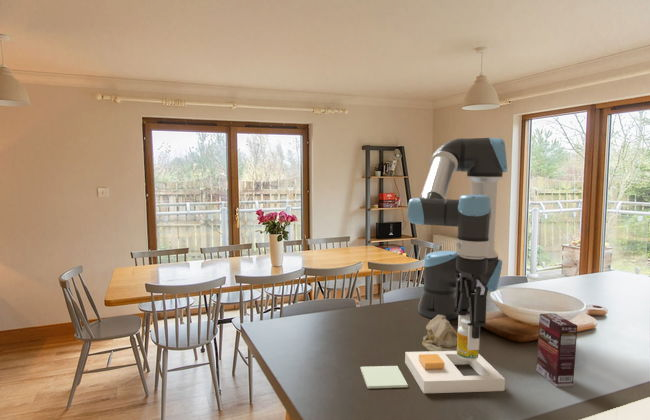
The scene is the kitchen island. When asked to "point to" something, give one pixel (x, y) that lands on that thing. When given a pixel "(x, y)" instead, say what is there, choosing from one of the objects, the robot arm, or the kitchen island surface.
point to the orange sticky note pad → (431, 361)
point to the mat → (383, 377)
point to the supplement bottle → (465, 342)
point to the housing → (454, 374)
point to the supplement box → (556, 349)
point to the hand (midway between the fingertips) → (467, 344)
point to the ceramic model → (440, 335)
